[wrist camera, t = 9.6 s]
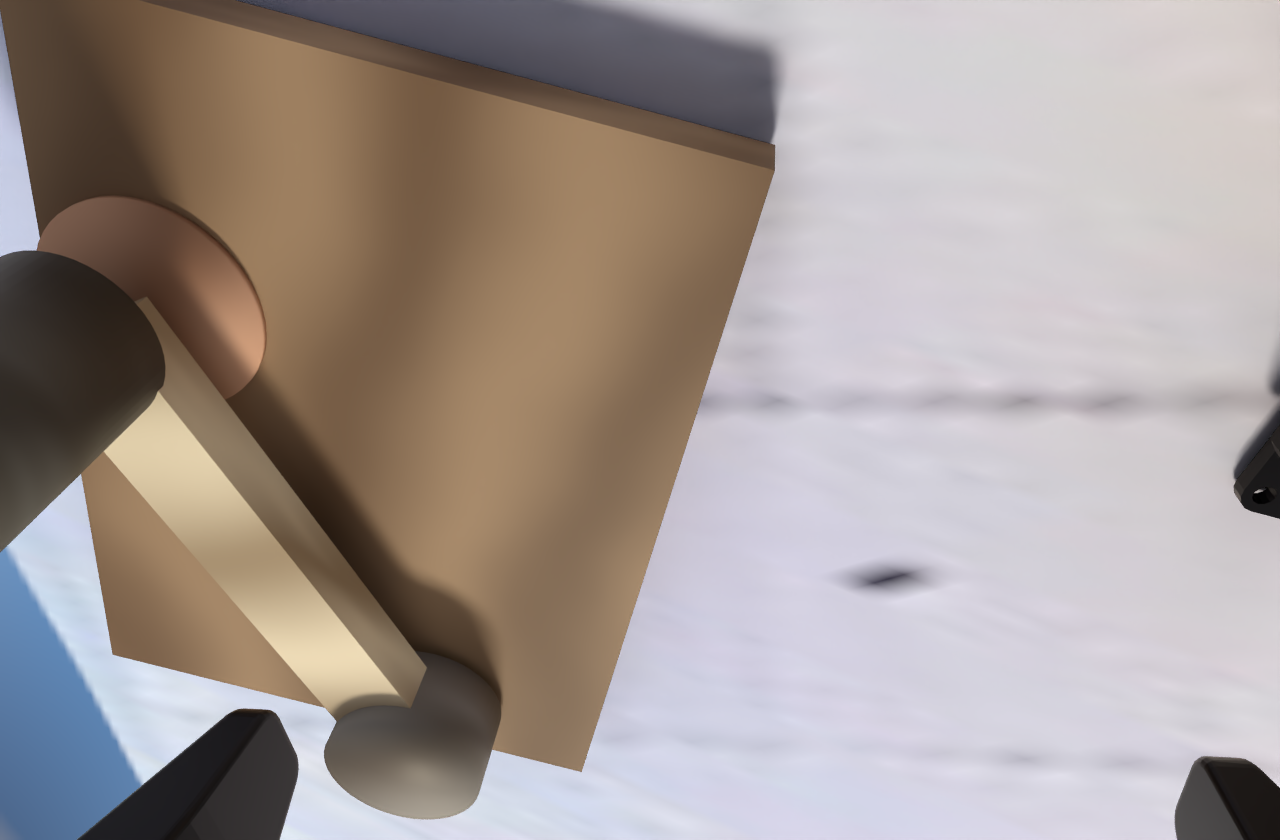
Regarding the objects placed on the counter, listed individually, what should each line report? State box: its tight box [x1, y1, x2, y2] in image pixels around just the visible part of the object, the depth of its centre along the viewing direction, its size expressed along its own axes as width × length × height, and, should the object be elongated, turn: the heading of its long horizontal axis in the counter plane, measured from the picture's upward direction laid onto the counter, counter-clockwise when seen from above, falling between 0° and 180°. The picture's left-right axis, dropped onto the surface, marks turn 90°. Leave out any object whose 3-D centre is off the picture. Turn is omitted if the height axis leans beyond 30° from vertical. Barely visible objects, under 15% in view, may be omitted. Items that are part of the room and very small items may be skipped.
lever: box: [0, 251, 501, 819], centre depth 21 cm, size 18×4×8 cm, turn 23°
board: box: [0, 0, 775, 772], centre depth 23 cm, size 15×20×2 cm
